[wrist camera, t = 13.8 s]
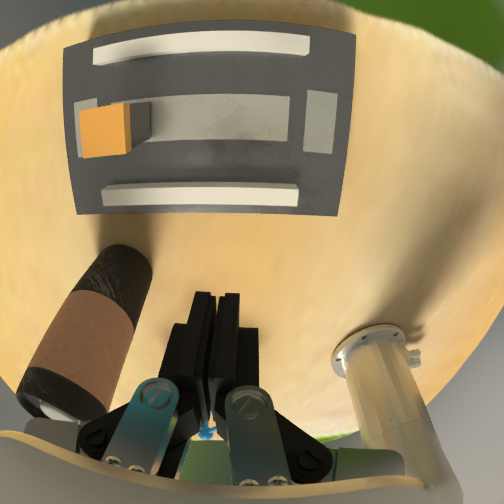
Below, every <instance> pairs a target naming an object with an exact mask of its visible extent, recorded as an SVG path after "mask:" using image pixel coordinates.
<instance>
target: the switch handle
mask: <svg viewBox="0 0 504 504" xmlns="http://www.w3.org/2000/svg"><path fill="white" fill-rule="evenodd" d="M79 116H80V131H81V142H82V152H83V159H84V158H92V157H100V156H110V155H120V154H127V153H128V152H130V151H132V148H133V147H135V146H137V145H139V144H141V143H143V142H145V141H147V140H149V139H150V138H151V137H150V102H141V103H132V104H130V103H129V102H128V103H120V104H114V105H108V106H102V107H97V108H92V109H87V110H82V111H79Z"/></svg>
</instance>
